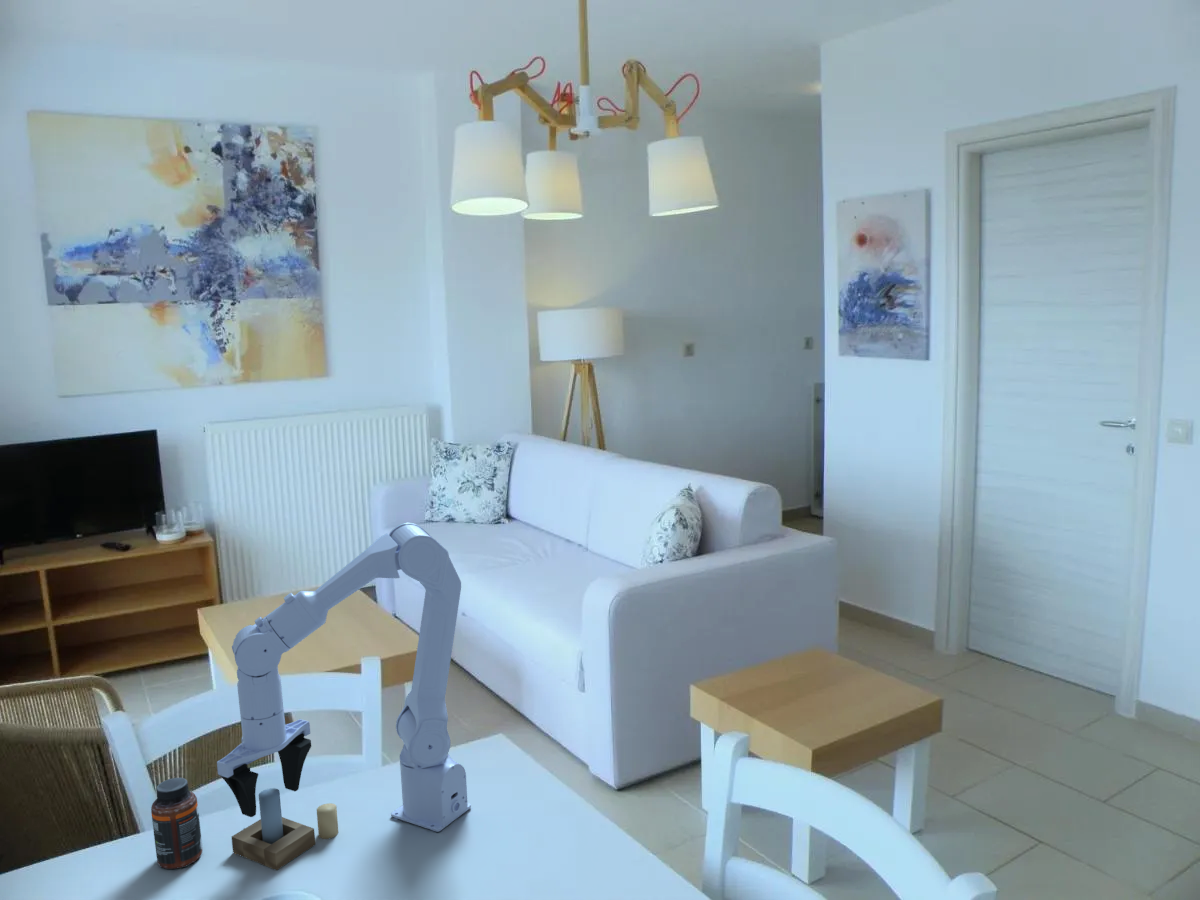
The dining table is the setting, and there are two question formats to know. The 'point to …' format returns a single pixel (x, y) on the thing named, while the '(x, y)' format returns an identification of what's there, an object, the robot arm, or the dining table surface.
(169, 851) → the supplement bottle
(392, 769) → the dining table surface
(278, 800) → the long dowel
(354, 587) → the robot arm
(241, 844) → the block with square hole
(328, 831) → the short dowel
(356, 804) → the dining table surface
